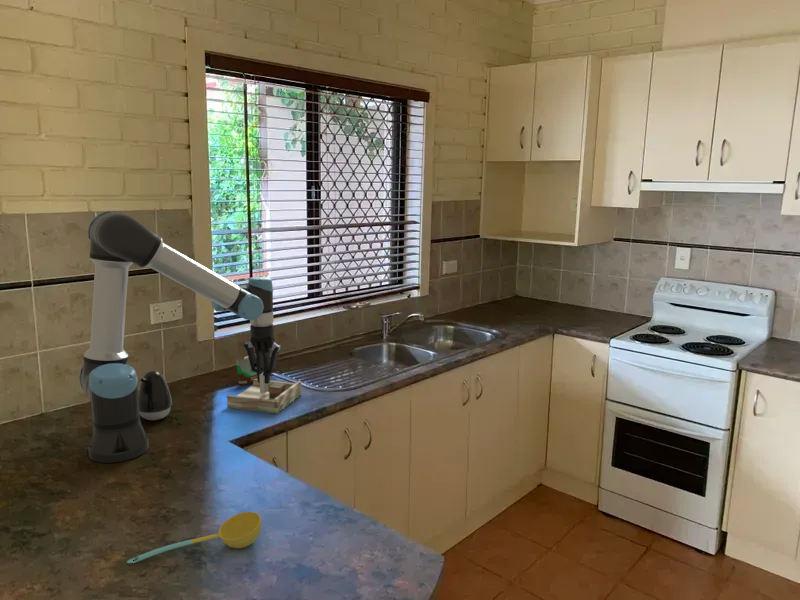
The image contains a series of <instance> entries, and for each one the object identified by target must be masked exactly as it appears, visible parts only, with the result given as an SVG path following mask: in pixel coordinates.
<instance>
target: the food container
mask: <svg viewBox="0 0 800 600" xmlns="http://www.w3.org/2000/svg"><path fill="white" fill-rule="evenodd" d="M255 356H256V354H255ZM235 366H236V370H237V378H238V379H237V382H238V386H239V387H241V386H242V387H243V386H253V379H258V378H257V373H256V372H253V371H252V369H251V365H250V362H249V358H248V354H247V355H244V356H243V357H242V358H241V359H236V361H235Z"/></svg>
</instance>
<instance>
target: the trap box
mask: <svg viewBox="0 0 800 600" xmlns="http://www.w3.org/2000/svg"><path fill="white" fill-rule="evenodd" d="M274 383H280V384H285V386H286V391H284V392H283V393H282V394H280V395H279V396H277V397H276V398H275V399H272V398H269V386H271V385H272V384H274ZM300 395H301V396H302V381H300V380H298V381H296V382H295V383H294V382H285V381H278V380H277V381H276V380H270V382H269V383H268V391H267V392H266V393H264V394H262V393H260V383H258V379H253V384H252V385H250V387H248V388H246V389H245V390H243V391H242V392H240V393H239V394H237V395H230V394H228V395H226V404H227V408H228V409H235V410H242V411H243V410H245V411H251V412H256V413H257V412H258V413H265V414H267V413H268V414H273V413H275V415H278V414H279V413H281V412H282V411H283V410H284V409H286V408H287V407H288V406H289V405H288V404H290V403H291V402H292V401H293V402H294V400H295V399H296V398H297V399H299V398H300V397H301V396H300ZM299 396H300V397H299ZM297 399H296V400H297ZM296 400H295V401H296ZM293 402H292V403H293ZM292 403H291V404H292ZM291 404H290V405H291ZM287 405H288V406H287ZM286 406H287V407H286ZM285 407H286V408H285ZM282 409H283V410H282ZM281 410H282V411H281ZM280 411H281V412H280Z"/></svg>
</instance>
